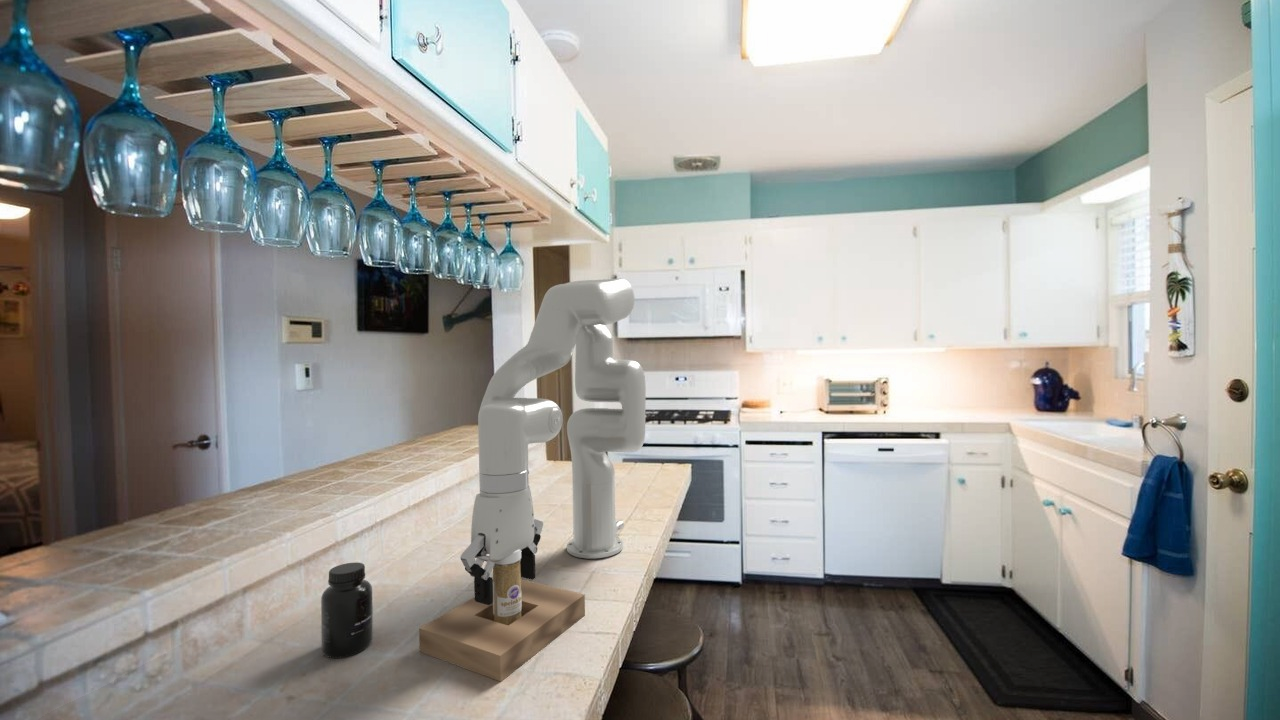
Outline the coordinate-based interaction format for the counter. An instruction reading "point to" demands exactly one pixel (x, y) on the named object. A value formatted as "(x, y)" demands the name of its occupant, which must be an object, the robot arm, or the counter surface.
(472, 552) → the robot arm
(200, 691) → the counter surface
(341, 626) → the supplement bottle
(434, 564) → the counter surface
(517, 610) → the sprinkles bottle
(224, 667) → the counter surface
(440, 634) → the spice holder
